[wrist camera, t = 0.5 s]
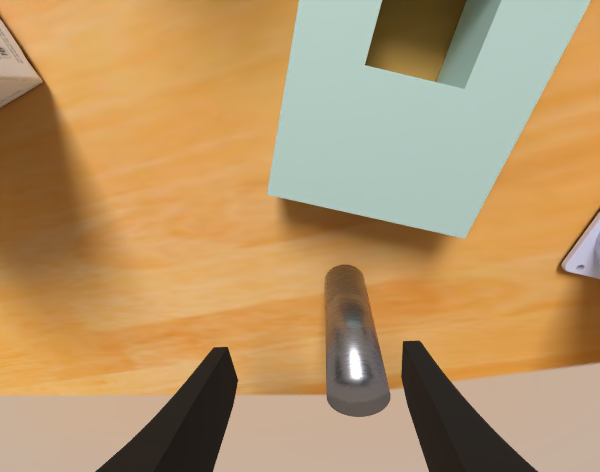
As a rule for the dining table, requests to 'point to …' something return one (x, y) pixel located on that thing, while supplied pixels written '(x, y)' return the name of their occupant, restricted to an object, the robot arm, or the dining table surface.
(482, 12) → the hole block
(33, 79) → the tea box
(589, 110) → the dining table surface
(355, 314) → the metal peg
